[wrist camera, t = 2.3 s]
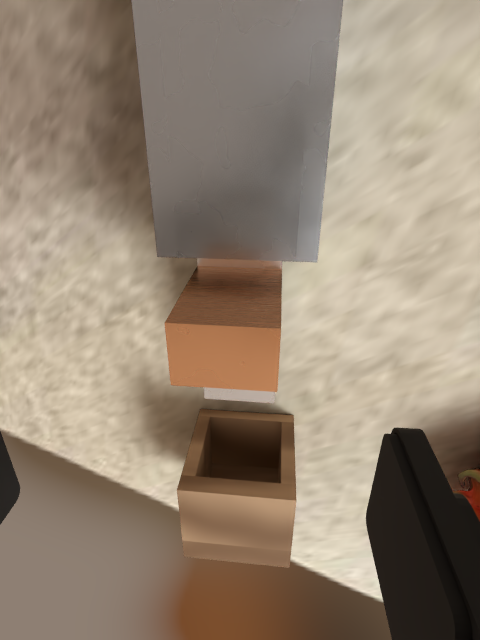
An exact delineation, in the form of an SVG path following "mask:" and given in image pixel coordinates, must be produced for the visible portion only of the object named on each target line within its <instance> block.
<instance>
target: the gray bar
mask: <svg viewBox="0 0 480 640" xmlns="http://www.w3.org/2000/svg"><path fill="white" fill-rule="evenodd" d="M197 265H198V266H197V268H196V270H195V271H194V273H193V275H192V277H191V278H190V280H189V282H188V283H187V285H186V287H185V289H184V290H183V292H182V294H181V296H180V297H179V299H178V301H177V302H176V304H175V306H174V308H173V309H172V311H171V313H170V315H169V316H168V318H167V320H166V322H165V331H166V341H167V351H168V361H169V371H170V381H171V385H176V386H191V387H204V399H218V400H233V401H248V402H263V403H274V401H275V392H277V387H278V370H279V353H280V336H281V288H282V261H264V260H235V259H206V258H197Z"/></svg>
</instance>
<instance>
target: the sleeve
mask: <svg viewBox="0 0 480 640" xmlns="http://www.w3.org/2000/svg"><path fill="white" fill-rule="evenodd" d="M131 1H132V11H133V21H134V31H135V40H136V50H137V60H138V70H139V80H140V90H141V99H142V109H143V119H144V129H145V139H146V149H147V159H148V168H149V178H150V188H151V198H152V208H153V218H154V227H155V237H156V247H157V257H178V258H206V259H235V260H264V261H293V262H317V259H318V249H319V239H320V228H321V218H322V208H323V198H324V188H325V178H326V168H327V158H328V148H329V138H330V128H331V118H332V107H333V97H334V87H335V77H336V67H337V57H338V47H339V37H340V27H341V17H342V7H343V0H131Z"/></svg>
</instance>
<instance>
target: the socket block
mask: <svg viewBox="0 0 480 640" xmlns="http://www.w3.org/2000/svg"><path fill="white" fill-rule="evenodd" d="M177 495H178V504H179V512H180V522H181V531H182V541H183V549H184V557H193V558H202V559H211V560H221V561H231V562H240V563H250V564H260V565H270V566H280V567H289V566H290V556H291V546H292V537H293V527H294V518H295V508H296V477H295V446H294V415H281V414H266V413H252V412H238V411H223V410H209V409H200V412H199V415H198V419H197V422H196V426H195V429H194V433H193V436H192V440H191V443H190V447H189V450H188V453H187V457H186V460H185V464H184V467H183V471H182V474H181V478H180V481H179V485H178V488H177Z"/></svg>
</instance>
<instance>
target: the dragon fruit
mask: <svg viewBox="0 0 480 640" xmlns="http://www.w3.org/2000/svg"><path fill="white" fill-rule="evenodd" d="M467 477H468V479H469V482H470V488H469V489H468V491H452V492H453V493H458V494H462V495H463V496H464V497H466V498H467V499H468V501H469V503H470V504H471V506H472V508H473V509H474V511H475V513H476V515H477V517H478V519H479V521H480V469H474V470H466V471H463V472H461V473H459V474H458V478H459V482H460V484H461V486H462V487H463V488H464V486H465V482H464V480H465V479H466V478H467Z"/></svg>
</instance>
